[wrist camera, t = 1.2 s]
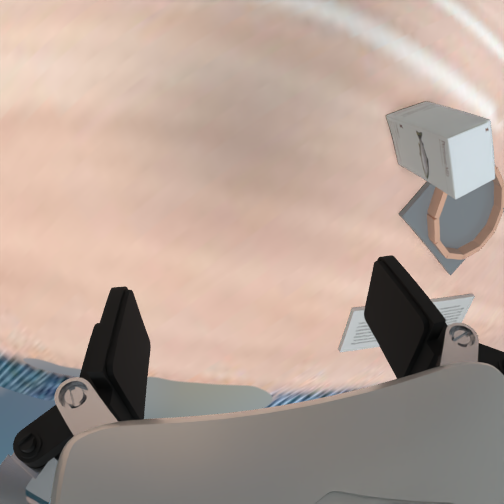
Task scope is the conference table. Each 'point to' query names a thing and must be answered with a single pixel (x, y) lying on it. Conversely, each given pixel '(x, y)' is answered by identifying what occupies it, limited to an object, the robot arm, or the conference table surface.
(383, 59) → the conference table surface
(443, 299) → the plaque
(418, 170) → the supplement box
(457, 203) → the ring holder
